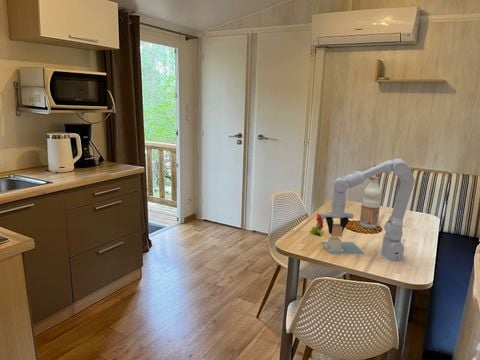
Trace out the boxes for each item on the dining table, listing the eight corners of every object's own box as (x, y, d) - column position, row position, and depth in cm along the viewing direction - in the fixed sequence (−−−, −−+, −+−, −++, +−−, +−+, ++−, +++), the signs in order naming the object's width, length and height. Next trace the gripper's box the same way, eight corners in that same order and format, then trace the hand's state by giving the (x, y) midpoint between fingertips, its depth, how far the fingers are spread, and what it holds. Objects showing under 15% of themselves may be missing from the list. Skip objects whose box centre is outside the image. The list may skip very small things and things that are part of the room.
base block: (340, 249, 165) (341, 240, 164) (330, 249, 165) (331, 240, 164) (336, 245, 170) (337, 236, 169) (327, 245, 169) (328, 236, 168)
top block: (341, 236, 164) (342, 227, 163) (332, 236, 163) (333, 227, 162) (338, 232, 168) (339, 223, 167) (328, 232, 168) (329, 223, 167)
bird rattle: (312, 235, 189) (308, 233, 181) (316, 214, 191) (312, 212, 183) (324, 237, 187) (320, 236, 179) (328, 216, 188) (325, 214, 180)
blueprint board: (364, 255, 162) (365, 254, 161) (330, 255, 160) (330, 253, 160) (352, 243, 175) (353, 241, 175) (320, 243, 174) (321, 241, 174)
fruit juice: (358, 227, 199) (364, 177, 193) (360, 222, 207) (366, 174, 201) (376, 230, 195) (383, 179, 189) (377, 224, 204) (383, 176, 198)
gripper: (350, 202, 167) (347, 229, 170) (320, 201, 166) (317, 229, 169) (356, 206, 160) (353, 235, 163) (325, 206, 159) (322, 235, 162)
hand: (335, 232), depth 166 cm, fingers closed on top block, 4 cm apart
